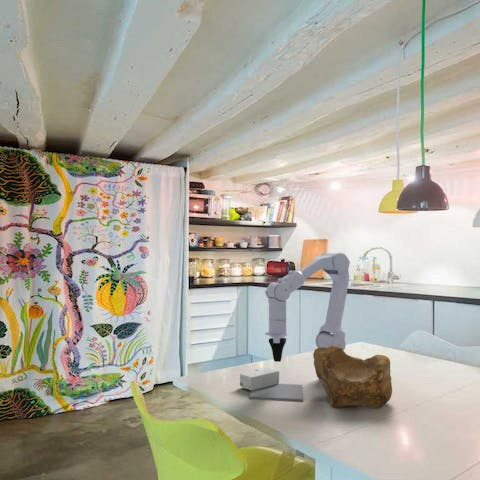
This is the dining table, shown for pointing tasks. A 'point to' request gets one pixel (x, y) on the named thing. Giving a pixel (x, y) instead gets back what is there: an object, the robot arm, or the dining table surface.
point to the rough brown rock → (353, 378)
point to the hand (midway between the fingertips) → (277, 361)
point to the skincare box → (259, 378)
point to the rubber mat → (279, 392)
